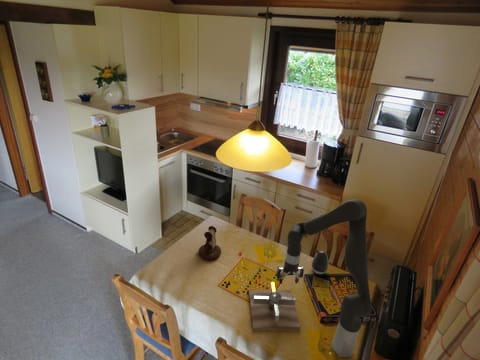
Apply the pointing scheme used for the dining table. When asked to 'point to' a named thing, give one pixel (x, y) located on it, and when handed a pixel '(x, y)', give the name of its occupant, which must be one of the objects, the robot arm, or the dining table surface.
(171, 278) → the dining table surface
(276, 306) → the capstan
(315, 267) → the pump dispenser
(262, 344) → the dining table surface
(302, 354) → the dining table surface
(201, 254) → the dark brown tall figurine
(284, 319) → the level stand
